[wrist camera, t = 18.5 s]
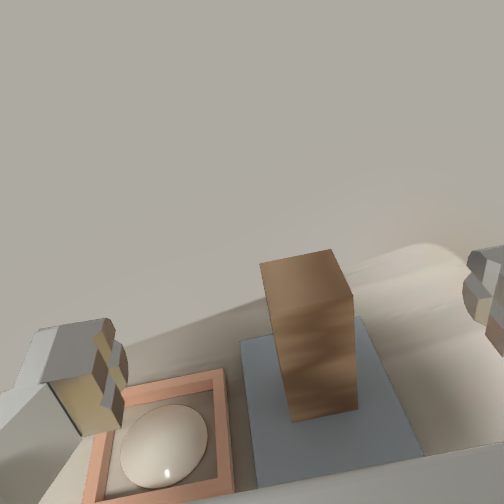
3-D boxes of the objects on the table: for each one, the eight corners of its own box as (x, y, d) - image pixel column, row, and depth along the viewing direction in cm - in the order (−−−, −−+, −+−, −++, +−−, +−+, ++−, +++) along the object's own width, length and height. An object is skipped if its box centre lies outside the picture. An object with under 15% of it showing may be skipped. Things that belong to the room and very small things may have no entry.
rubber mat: (259, 492, 27) (257, 487, 26) (240, 346, 36) (239, 341, 36) (423, 459, 27) (423, 453, 26) (360, 321, 36) (360, 316, 36)
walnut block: (291, 423, 29) (270, 312, 24) (280, 370, 33) (259, 263, 27) (358, 409, 29) (353, 295, 24) (339, 358, 33) (331, 249, 27)
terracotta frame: (86, 529, 27) (78, 519, 26) (109, 401, 34) (103, 392, 33) (235, 498, 27) (231, 488, 26) (225, 378, 34) (222, 367, 33)
